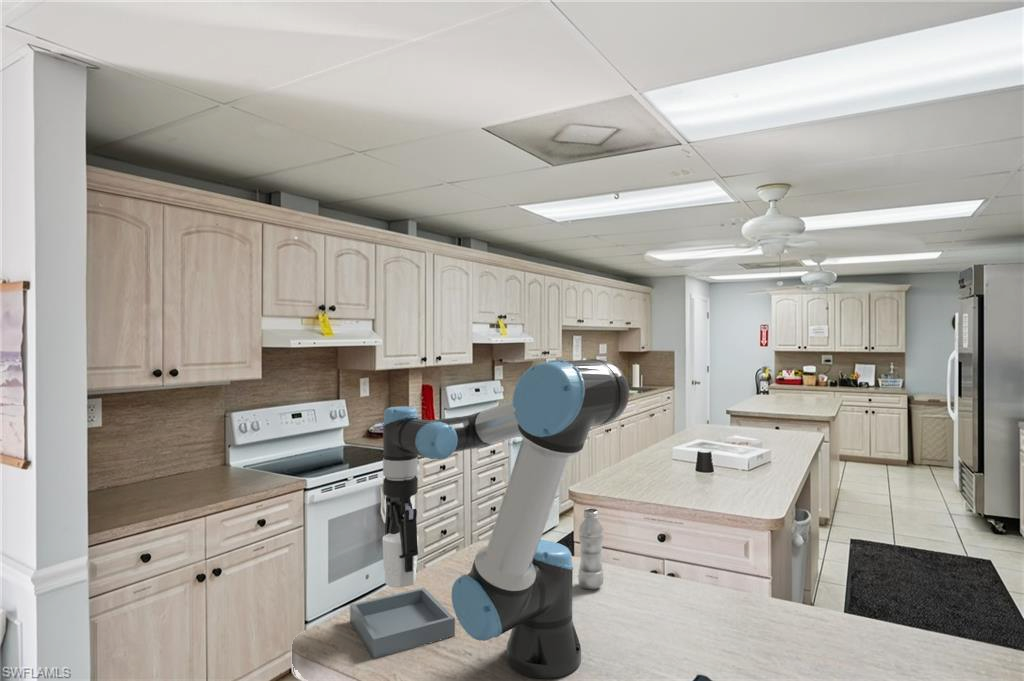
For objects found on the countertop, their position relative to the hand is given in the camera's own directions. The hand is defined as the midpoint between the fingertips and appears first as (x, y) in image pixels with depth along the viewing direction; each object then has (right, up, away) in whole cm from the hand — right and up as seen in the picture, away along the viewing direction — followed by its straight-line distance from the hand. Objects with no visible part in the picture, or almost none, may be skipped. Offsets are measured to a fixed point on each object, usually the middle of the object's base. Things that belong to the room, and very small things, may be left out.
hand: (400, 578), depth 132 cm
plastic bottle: (+45, -11, +22) cm, 51 cm away
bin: (0, -11, 0) cm, 11 cm away
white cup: (0, -1, 0) cm, 1 cm away
